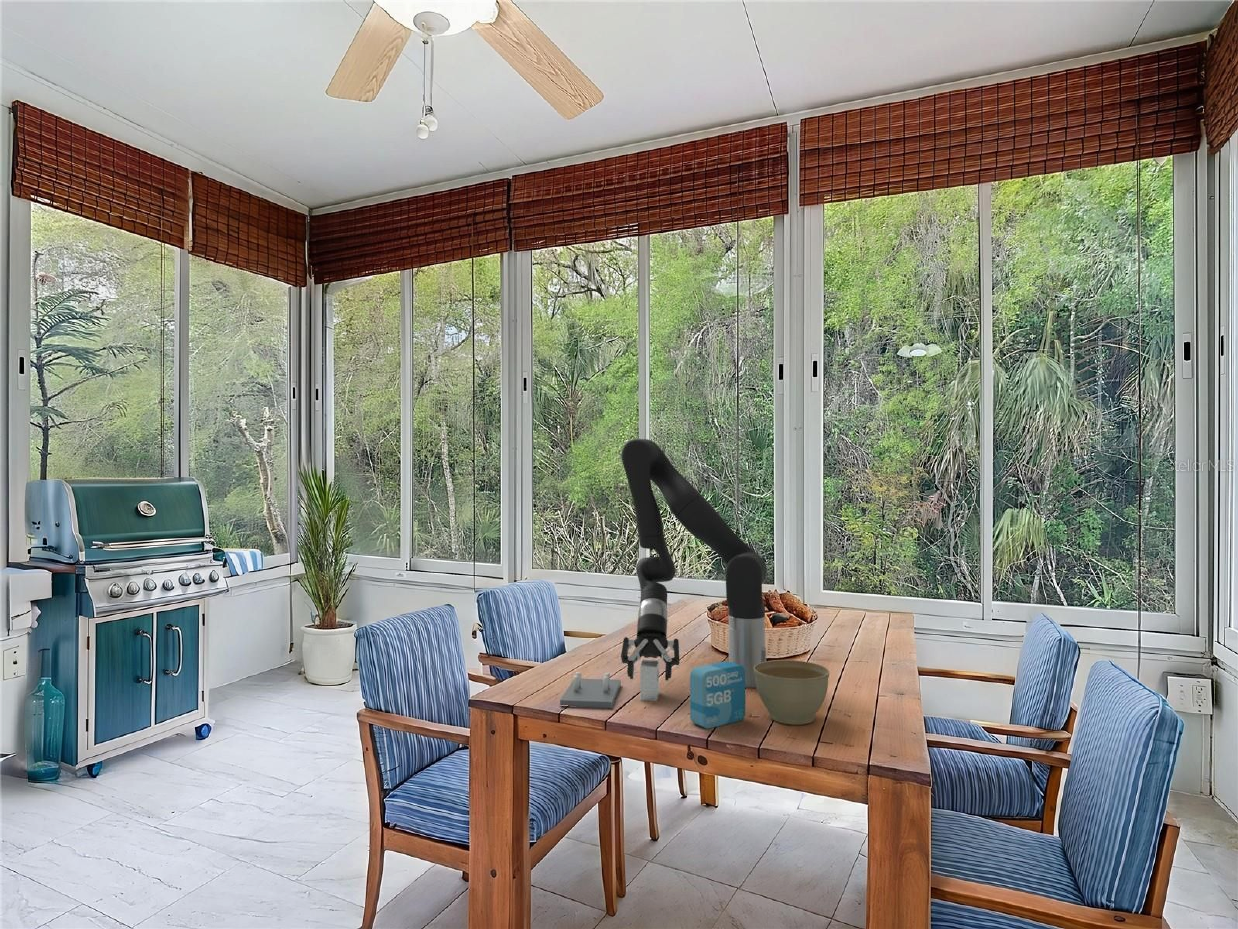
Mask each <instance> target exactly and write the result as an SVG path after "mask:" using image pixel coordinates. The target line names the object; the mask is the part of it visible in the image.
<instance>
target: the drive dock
mask: <svg viewBox="0 0 1238 929" xmlns="http://www.w3.org/2000/svg"><path fill="white" fill-rule="evenodd" d="M621 683H622V680H621V679H611V673H609V672H607V673H606V672H605V673H604V676H603V677H602V678H582V672H580V671H577V672H575V675H573V680H572V681H571V683H570V684H569V686H568V687H567V689H566V690H565V692H563V693H564V694H562V696H561V698H560V700H559V706H560V705H568V706H576V707H575V708H581V707H590V708H589V709H608V708H612V709H613V706H614V704H615V701H616V699H615V698H617V696H618V694H619V692H618V691H620V688H621V686H622V684H621ZM592 707H593V708H592Z"/></svg>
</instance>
